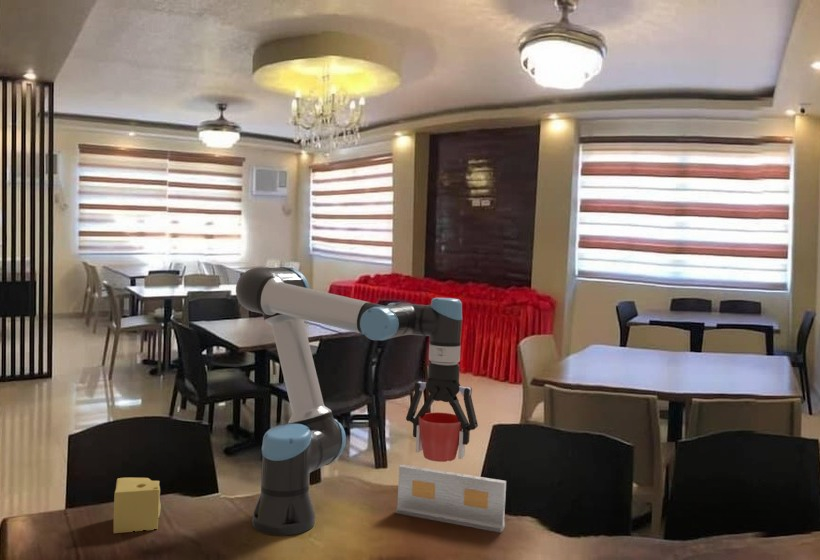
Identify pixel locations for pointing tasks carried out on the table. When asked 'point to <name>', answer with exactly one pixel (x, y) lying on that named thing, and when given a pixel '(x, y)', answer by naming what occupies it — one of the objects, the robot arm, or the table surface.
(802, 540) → the table surface
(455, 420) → the flower pot
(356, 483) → the table surface
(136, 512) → the cheese
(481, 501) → the label panel
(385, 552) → the table surface
